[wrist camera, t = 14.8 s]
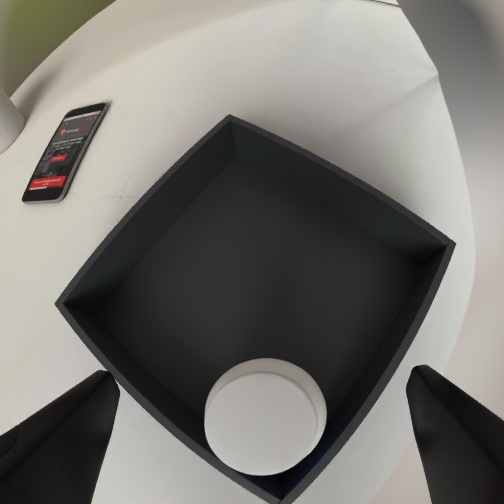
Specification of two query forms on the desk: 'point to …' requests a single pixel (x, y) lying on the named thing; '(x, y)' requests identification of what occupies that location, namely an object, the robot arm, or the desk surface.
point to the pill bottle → (264, 416)
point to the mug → (9, 121)
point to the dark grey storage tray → (257, 288)
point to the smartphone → (63, 155)
